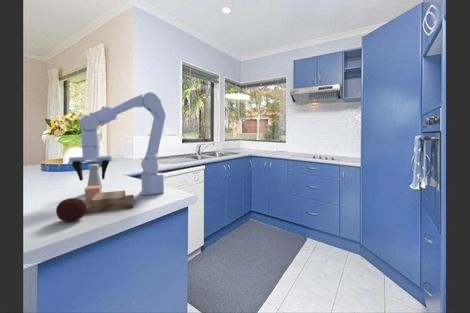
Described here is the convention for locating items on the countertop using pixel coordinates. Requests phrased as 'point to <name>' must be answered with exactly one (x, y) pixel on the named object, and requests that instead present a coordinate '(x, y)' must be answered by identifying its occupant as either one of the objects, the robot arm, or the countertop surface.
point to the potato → (71, 209)
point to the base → (110, 208)
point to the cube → (92, 191)
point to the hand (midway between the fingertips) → (92, 179)
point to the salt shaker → (94, 175)
